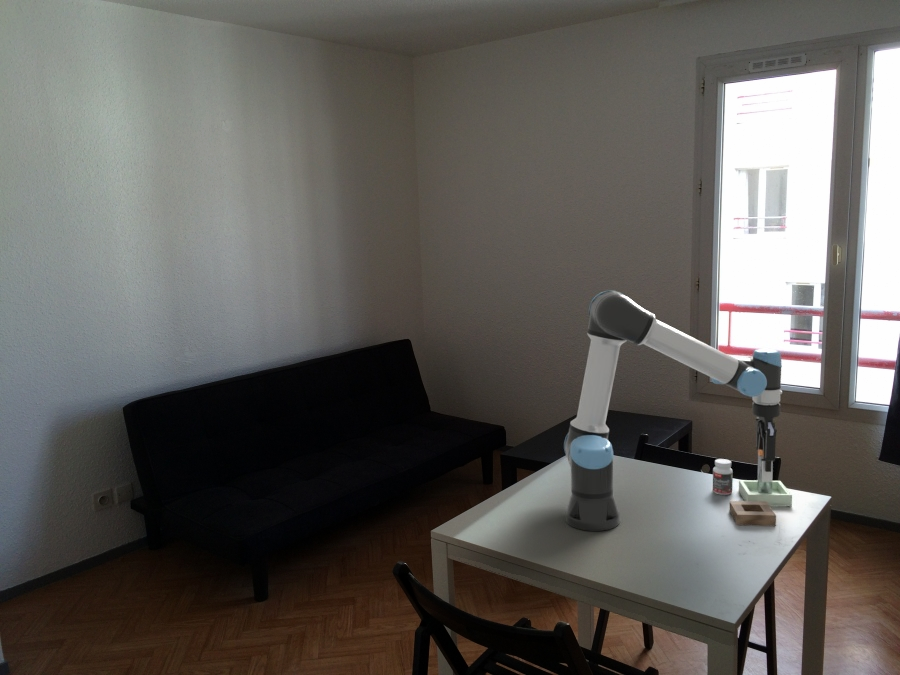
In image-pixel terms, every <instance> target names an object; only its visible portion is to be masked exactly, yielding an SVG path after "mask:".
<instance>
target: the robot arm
mask: <svg viewBox="0 0 900 675" xmlns="http://www.w3.org/2000/svg"><path fill="white" fill-rule="evenodd" d="M588 307H589V308H588V315H589V316H588V317H589V320H588V325H587V326H588V327H587V330H586V332H587V333H586V334H587V337H589V339H590V343H589V344H590V345H589V348H588V353H587V354H588V355H587V361H586V365H585V370H584V377H583V380H582V381H583V382H582V388H581V393H580V398H579V402H578V409H577V414H576V417H575V418H574V419H572V420H570V423H569V428H568V432H567V434H566V436H565V439H564V442H563V449H564V453H565V456H566V460H567V461H568V464H569V466H570V483H571V484H570V485H571V487H570V488H571V492H570V493H571V495H570V497H569V500H568V503H567V504H568V505H567V507H566V510H565V522H566V523H567V524H568V525H569V526H571V527H573V528H574V529H579V530H582V531H589V532H600V531H607V530H612V529H614V528H615V527H617V526H619V524H620V523H621V517H620V516H621V515H620V511H619V508H618V505H617V501H616V499H615V496H614V460H613V459H614V449H613V445H612V443H611V442H610V441H609V434H610V428H609V427H608V425H607V424H606V421H607V416H608V412H609V406H610V401H611V396H612V390H613V385H614V380H615V375H616V371H617V370H616V369H617V366H618V361H619V354H620V349H621V346H622V345H623V344H624V343H626V342H627V341H628V342H630V343H632V344H633V345H636V346H641V345H645V346H646V347H649V348H651V349H653V350H655V351H657V352H659V353H661V354H663V355H664V356H667V357H669V358H671V359H673V360H676V361H677V362H679V363H682V364H683V365H685V366H686V367H687V366H688V367H689V368H691V369H692V370H693V369H694V370H696V371H697V372H700V373H701V374H704V375H706V376H708V377H710V379H711V382H712V383H713V384H715V385H725V386H727V387H730V388H731V389H734V390H736V391H738V392H739V393H740V394H742V395H744V396H747V397H750V398H752V401H753V402H752V407H751V408H752V411H751V412H752V415H753V416H755V422H756V423H755V425H756V428H755V429H756V430H755V431H756V438H755V440H756V441H755V444H756V445H755V449H756V451H758V449H761V448H763V459H761V461H762V482H772V481H773V473H772V465H774V464H773V462H775V461H776V441H777V437H776V436H777V431H778V430H777V429H776V425H775V424H776V423H775V422H774V418H778V417H780V416H781V403H780V402H781V395H782V394H783V390H781V388H782V387H781V386H782V385H781V383H782V381H781V380H782V367H783V366H782V354H781V352H780V351H779V350H777V349H771V348H760V349H758V348H757V349H755V350H754V351H753V353H752V356H750V357H733V356H731V355H728V354H727V353H725V352H723V351H721V350H719V349H718V348H717V349H716V348H715V347H713V346H711V345H708V344H707V343H705V342H703V341H701V340H699V339H696V338H695V337H693V336H691V335H689V334H686V333H684V332H683V331H682V330H681V331H680V330H679V329H676V328H675V327H672V326H670V325H669V324H667V323H665V322H662V321H660V320H658V319H656V318H657V317H656V315H655V314H654V313H653V312H650V311H649V310H646V309H645V308H643V307H642V306H641V305H639V304H637V303H636V301H634V300H632V299H631V298H630V297H629V296H626V295H625V294H624V293H622V292H621V291H616V290H605V291H602V292H599V293H598V294H596V295H595V296H594V297H593V298H592V300H591V301H590V304H589V306H588Z"/></svg>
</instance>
